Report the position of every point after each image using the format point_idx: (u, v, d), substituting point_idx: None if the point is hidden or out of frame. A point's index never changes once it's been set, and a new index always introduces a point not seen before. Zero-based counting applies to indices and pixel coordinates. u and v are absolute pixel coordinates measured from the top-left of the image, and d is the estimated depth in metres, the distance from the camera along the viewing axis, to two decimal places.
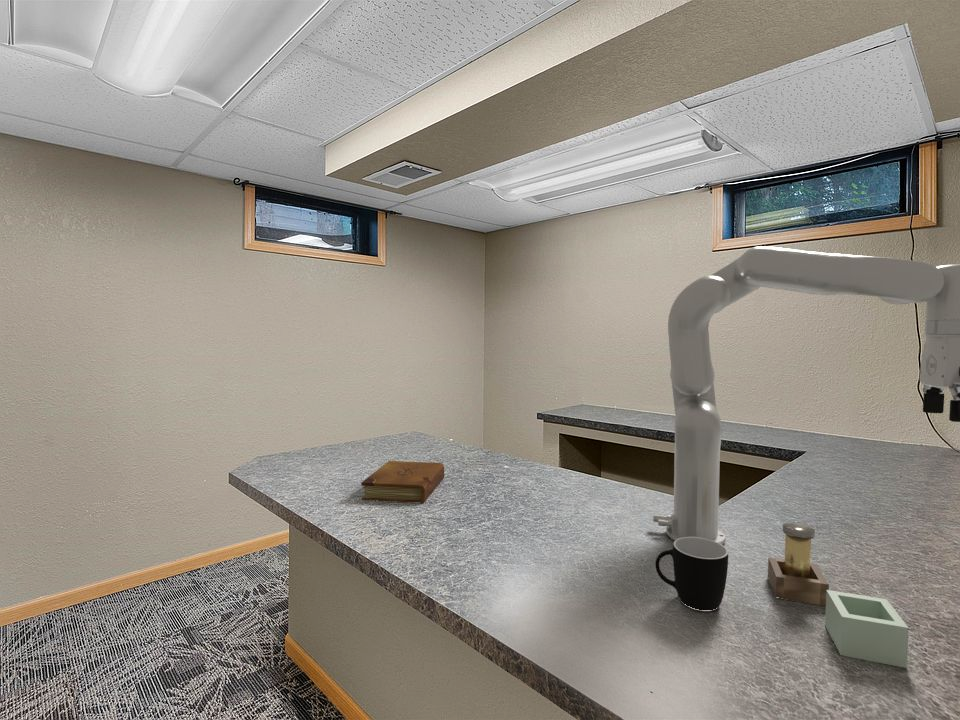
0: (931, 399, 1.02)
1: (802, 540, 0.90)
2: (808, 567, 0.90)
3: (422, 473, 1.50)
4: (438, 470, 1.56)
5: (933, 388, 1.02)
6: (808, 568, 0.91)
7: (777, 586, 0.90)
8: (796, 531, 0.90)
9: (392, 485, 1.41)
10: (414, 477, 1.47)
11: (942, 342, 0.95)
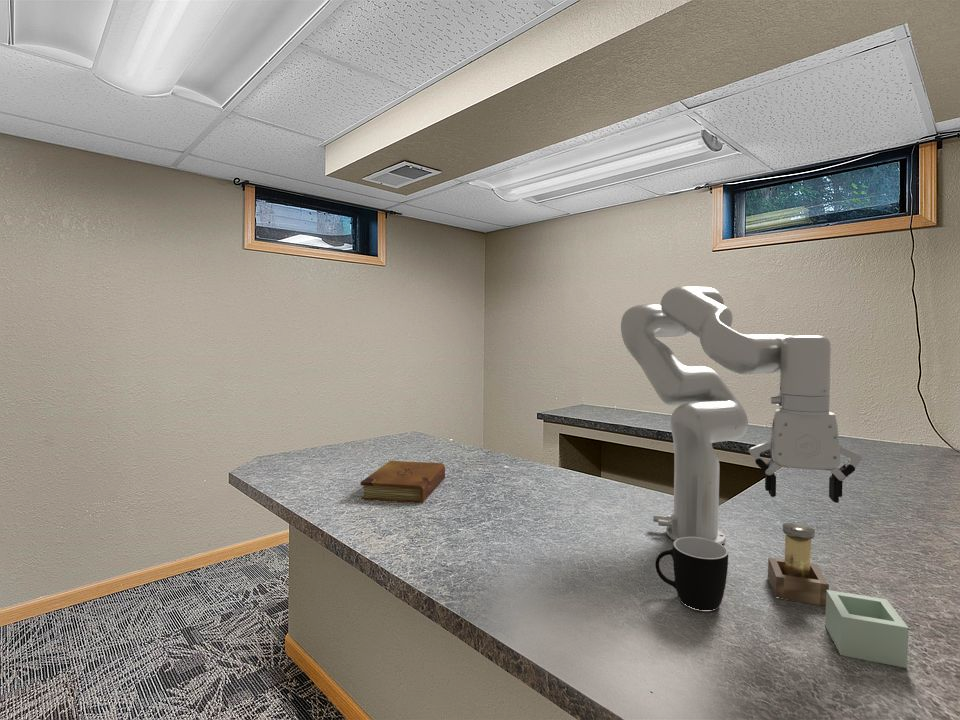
0: None
1: (802, 540, 0.90)
2: (808, 567, 0.90)
3: (421, 474, 1.50)
4: (438, 470, 1.56)
5: None
6: (808, 568, 0.91)
7: (777, 586, 0.90)
8: (796, 531, 0.90)
9: (391, 485, 1.41)
10: (414, 477, 1.47)
11: (827, 421, 0.87)
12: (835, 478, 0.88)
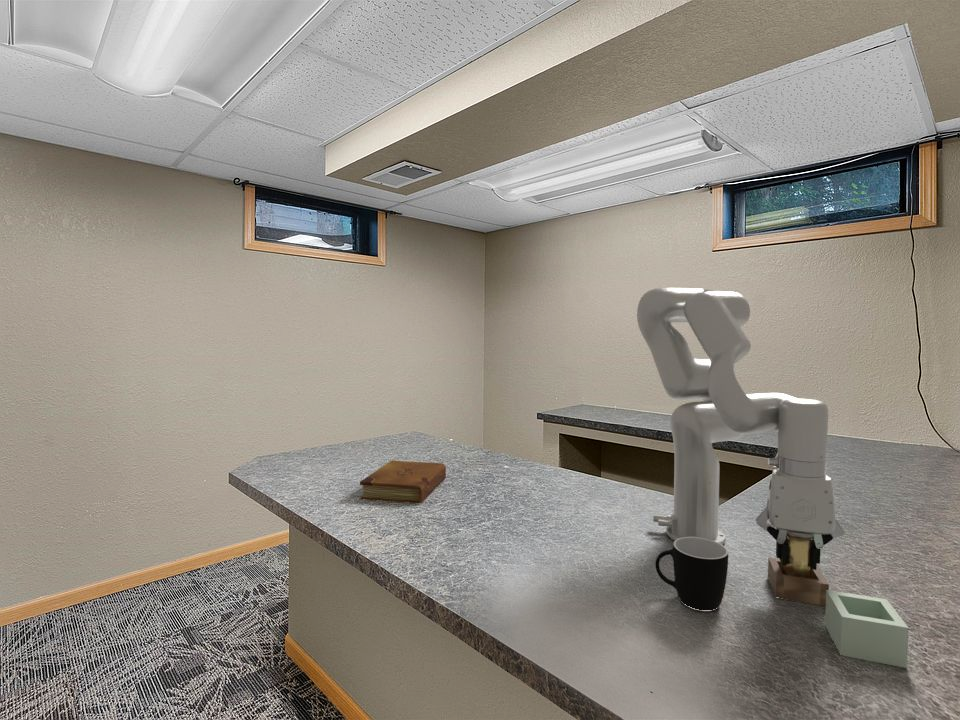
0: None
1: (802, 540, 0.90)
2: (808, 567, 0.90)
3: (421, 474, 1.50)
4: (438, 471, 1.55)
5: None
6: (808, 568, 0.91)
7: (777, 586, 0.90)
8: (796, 531, 0.90)
9: (390, 485, 1.41)
10: (413, 477, 1.47)
11: (824, 486, 0.88)
12: (813, 546, 0.90)
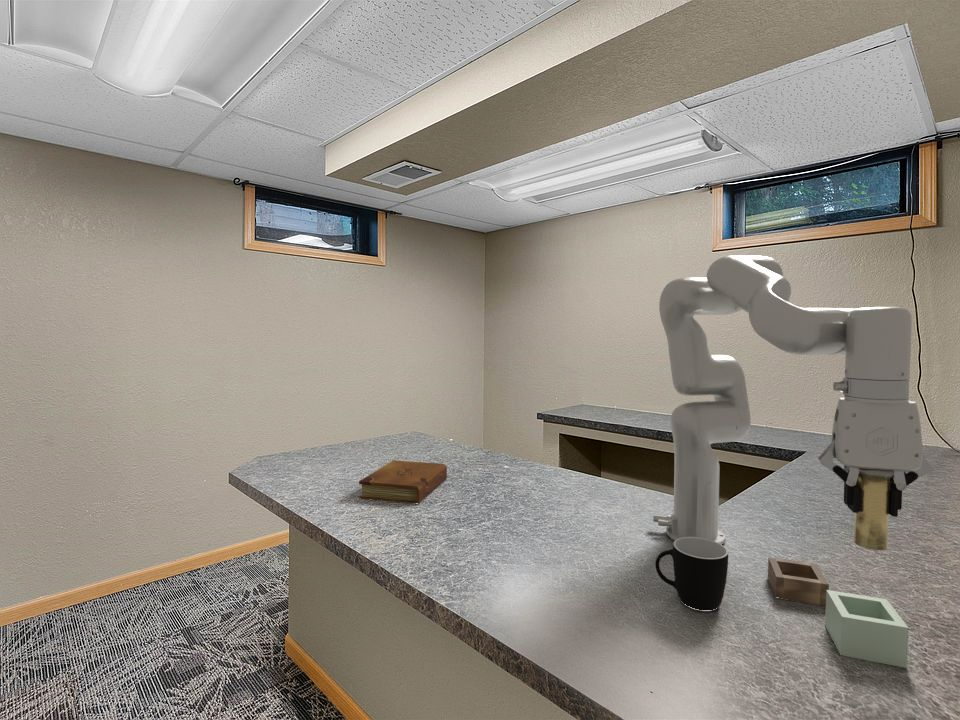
0: None
1: (880, 479, 0.73)
2: (887, 513, 0.73)
3: (421, 474, 1.50)
4: (439, 471, 1.55)
5: None
6: (887, 515, 0.73)
7: (777, 586, 0.90)
8: (872, 469, 0.73)
9: (388, 485, 1.41)
10: (412, 477, 1.47)
11: (908, 410, 0.71)
12: (893, 487, 0.73)
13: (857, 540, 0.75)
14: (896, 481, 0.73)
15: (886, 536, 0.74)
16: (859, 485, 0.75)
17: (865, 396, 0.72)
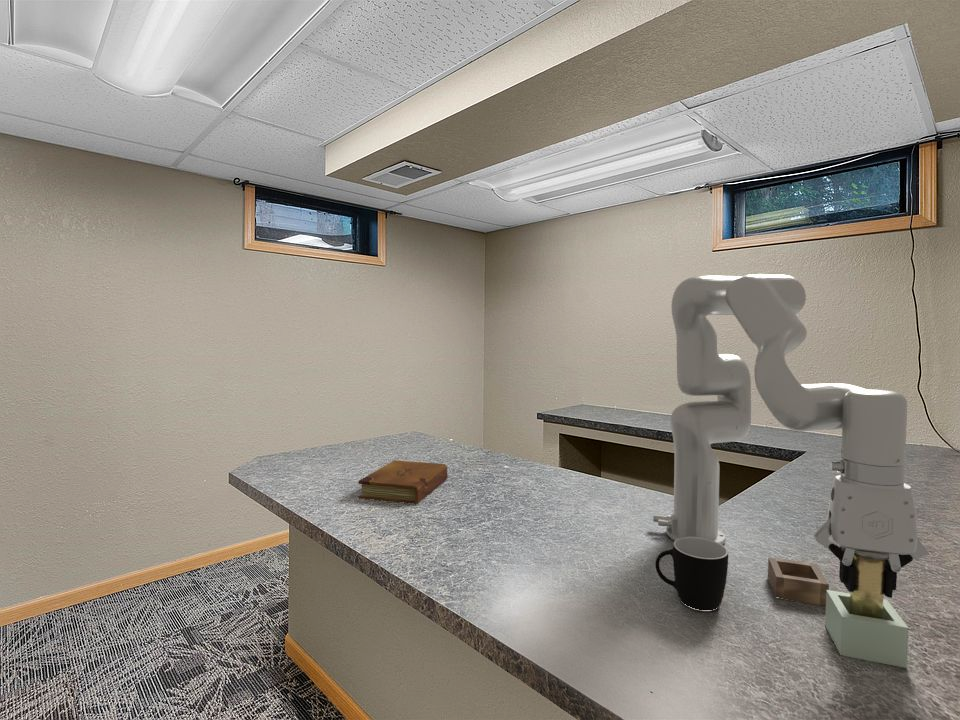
0: None
1: (875, 561, 0.74)
2: (882, 594, 0.74)
3: (420, 474, 1.50)
4: (439, 471, 1.55)
5: None
6: (882, 595, 0.74)
7: (777, 586, 0.90)
8: None
9: (387, 485, 1.41)
10: (411, 477, 1.47)
11: (903, 496, 0.72)
12: (888, 568, 0.74)
13: None
14: (891, 563, 0.74)
15: (881, 616, 0.75)
16: (854, 564, 0.76)
17: (861, 480, 0.73)
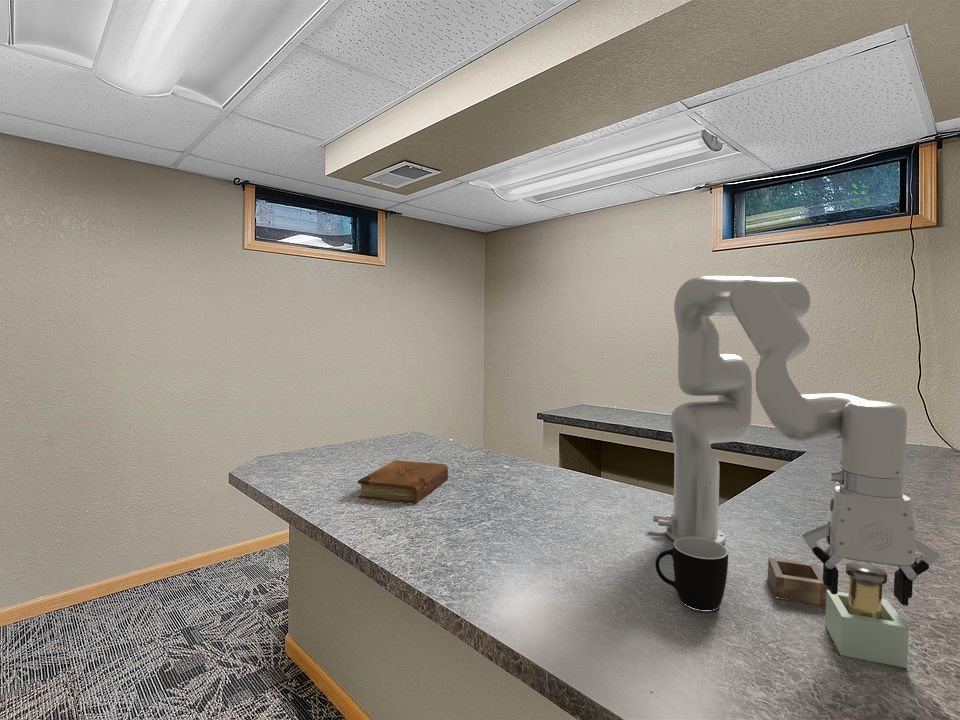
0: None
1: (872, 585, 0.74)
2: (879, 617, 0.75)
3: (420, 474, 1.50)
4: (439, 471, 1.54)
5: None
6: None
7: (777, 586, 0.90)
8: (865, 574, 0.75)
9: (386, 485, 1.42)
10: (411, 477, 1.47)
11: (902, 508, 0.72)
12: (904, 576, 0.74)
13: None
14: (905, 572, 0.73)
15: None
16: (852, 588, 0.76)
17: (860, 491, 0.73)
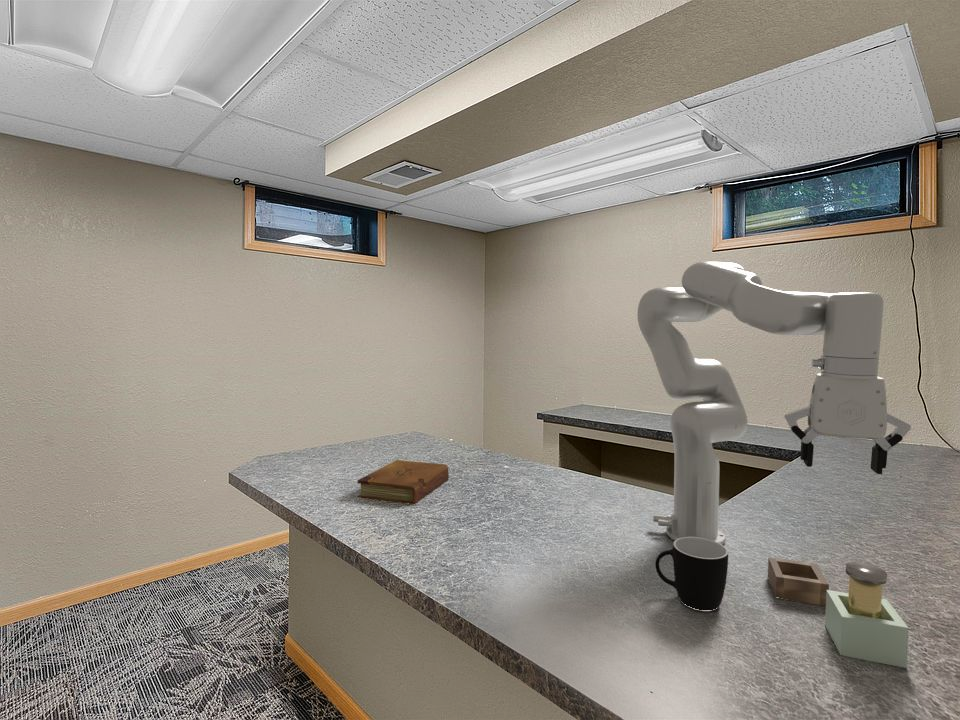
0: None
1: (872, 585, 0.74)
2: (879, 617, 0.75)
3: (420, 474, 1.50)
4: (439, 472, 1.54)
5: None
6: None
7: (777, 586, 0.90)
8: (865, 574, 0.75)
9: (385, 485, 1.42)
10: (410, 478, 1.46)
11: (875, 385, 0.79)
12: (879, 448, 0.81)
13: None
14: (880, 444, 0.81)
15: None
16: (852, 588, 0.76)
17: (838, 372, 0.81)
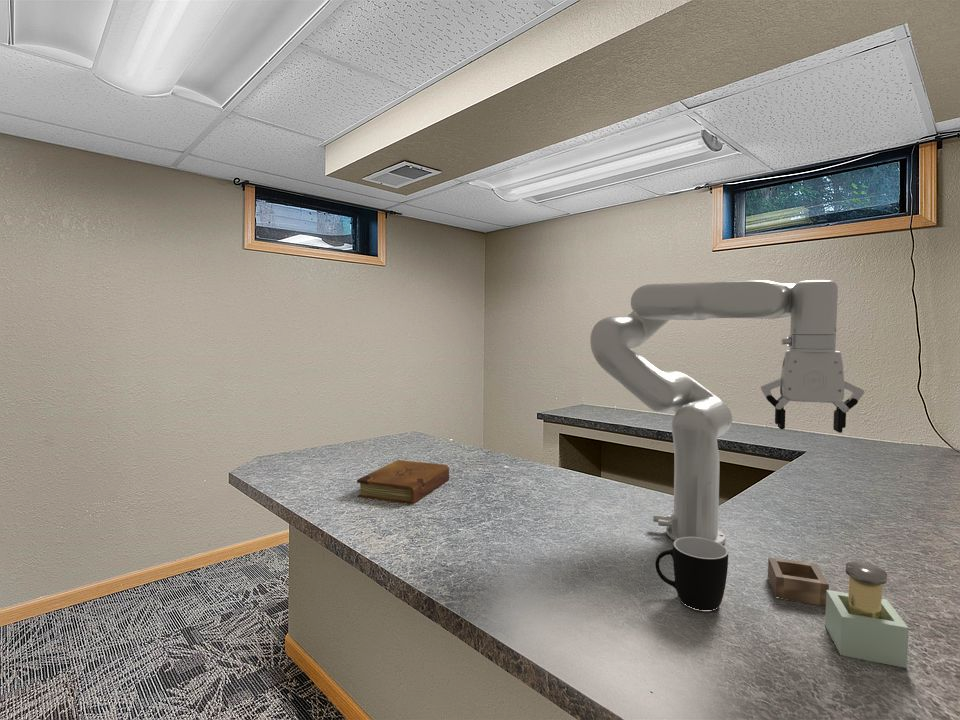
0: None
1: (872, 585, 0.74)
2: (879, 617, 0.75)
3: (419, 474, 1.49)
4: (439, 472, 1.54)
5: None
6: None
7: (777, 586, 0.90)
8: (865, 574, 0.75)
9: (384, 484, 1.42)
10: (410, 478, 1.46)
11: (834, 357, 0.95)
12: (839, 410, 0.97)
13: None
14: (840, 407, 0.96)
15: None
16: (852, 588, 0.76)
17: (803, 347, 0.96)
